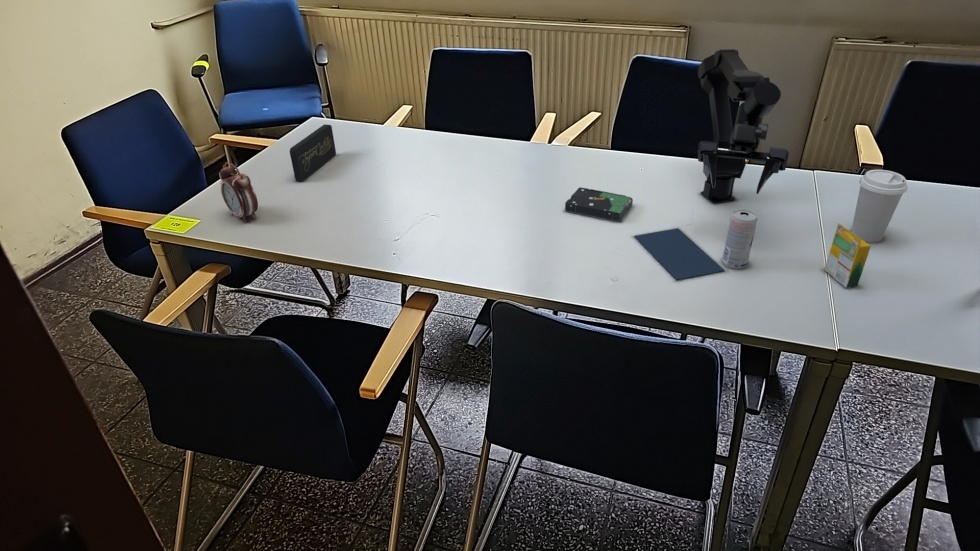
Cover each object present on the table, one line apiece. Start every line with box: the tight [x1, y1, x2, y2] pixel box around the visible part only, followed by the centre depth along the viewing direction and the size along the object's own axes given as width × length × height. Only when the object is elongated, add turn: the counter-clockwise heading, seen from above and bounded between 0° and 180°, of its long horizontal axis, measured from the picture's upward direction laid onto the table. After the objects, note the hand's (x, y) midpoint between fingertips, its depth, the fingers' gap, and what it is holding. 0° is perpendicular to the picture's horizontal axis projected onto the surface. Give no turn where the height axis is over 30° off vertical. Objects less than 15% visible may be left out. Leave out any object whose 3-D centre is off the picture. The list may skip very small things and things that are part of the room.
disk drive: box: [564, 186, 634, 222], centre depth 168 cm, size 10×3×15 cm
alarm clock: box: [218, 161, 259, 223], centre depth 167 cm, size 11×5×15 cm, turn 47°
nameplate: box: [289, 124, 337, 182], centre depth 193 cm, size 21×2×10 cm, turn 163°
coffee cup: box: [850, 169, 908, 244], centre depth 149 cm, size 10×10×15 cm
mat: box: [633, 227, 726, 281], centre depth 149 cm, size 12×20×1 cm, turn 16°
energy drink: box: [721, 209, 758, 270], centre depth 142 cm, size 5×5×12 cm
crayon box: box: [823, 222, 872, 289], centre depth 136 cm, size 7×3×12 cm, turn 12°
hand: (735, 190), depth 144 cm, fingers open, 9 cm apart
